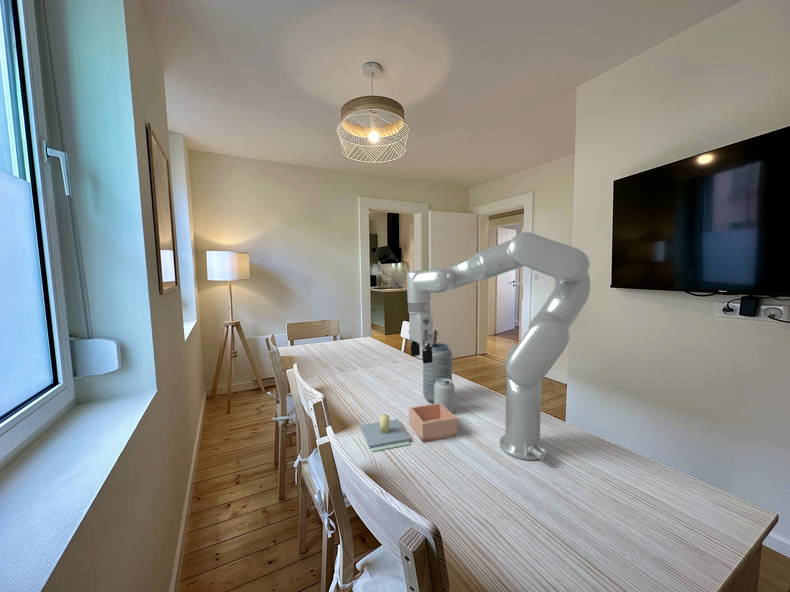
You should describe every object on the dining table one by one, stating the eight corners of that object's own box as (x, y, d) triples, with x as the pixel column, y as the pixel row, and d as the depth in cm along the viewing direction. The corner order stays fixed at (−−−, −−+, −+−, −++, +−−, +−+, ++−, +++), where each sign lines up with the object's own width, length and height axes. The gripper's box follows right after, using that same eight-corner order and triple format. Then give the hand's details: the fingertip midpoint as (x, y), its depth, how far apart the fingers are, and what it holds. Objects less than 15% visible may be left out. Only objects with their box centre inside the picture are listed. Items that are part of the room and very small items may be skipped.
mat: (410, 444, 94) (410, 443, 94) (372, 452, 90) (372, 450, 90) (394, 420, 109) (394, 419, 109) (361, 426, 105) (361, 424, 105)
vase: (450, 395, 131) (451, 342, 129) (452, 407, 120) (453, 349, 118) (423, 394, 132) (423, 341, 131) (422, 405, 121) (423, 348, 119)
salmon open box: (457, 436, 99) (457, 418, 98) (422, 442, 95) (422, 423, 94) (440, 419, 110) (440, 402, 109) (409, 424, 106) (409, 407, 106)
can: (454, 417, 111) (454, 384, 111) (433, 415, 113) (433, 383, 112) (454, 408, 119) (454, 377, 118) (434, 406, 120) (435, 376, 119)
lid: (410, 440, 95) (410, 422, 95) (369, 448, 91) (369, 429, 91) (397, 421, 108) (397, 405, 107) (360, 427, 104) (360, 410, 103)
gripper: (442, 309, 94) (443, 364, 95) (418, 305, 111) (420, 352, 112) (419, 311, 92) (421, 367, 93) (399, 306, 108) (401, 354, 109)
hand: (421, 359), depth 102 cm, fingers open, 9 cm apart
